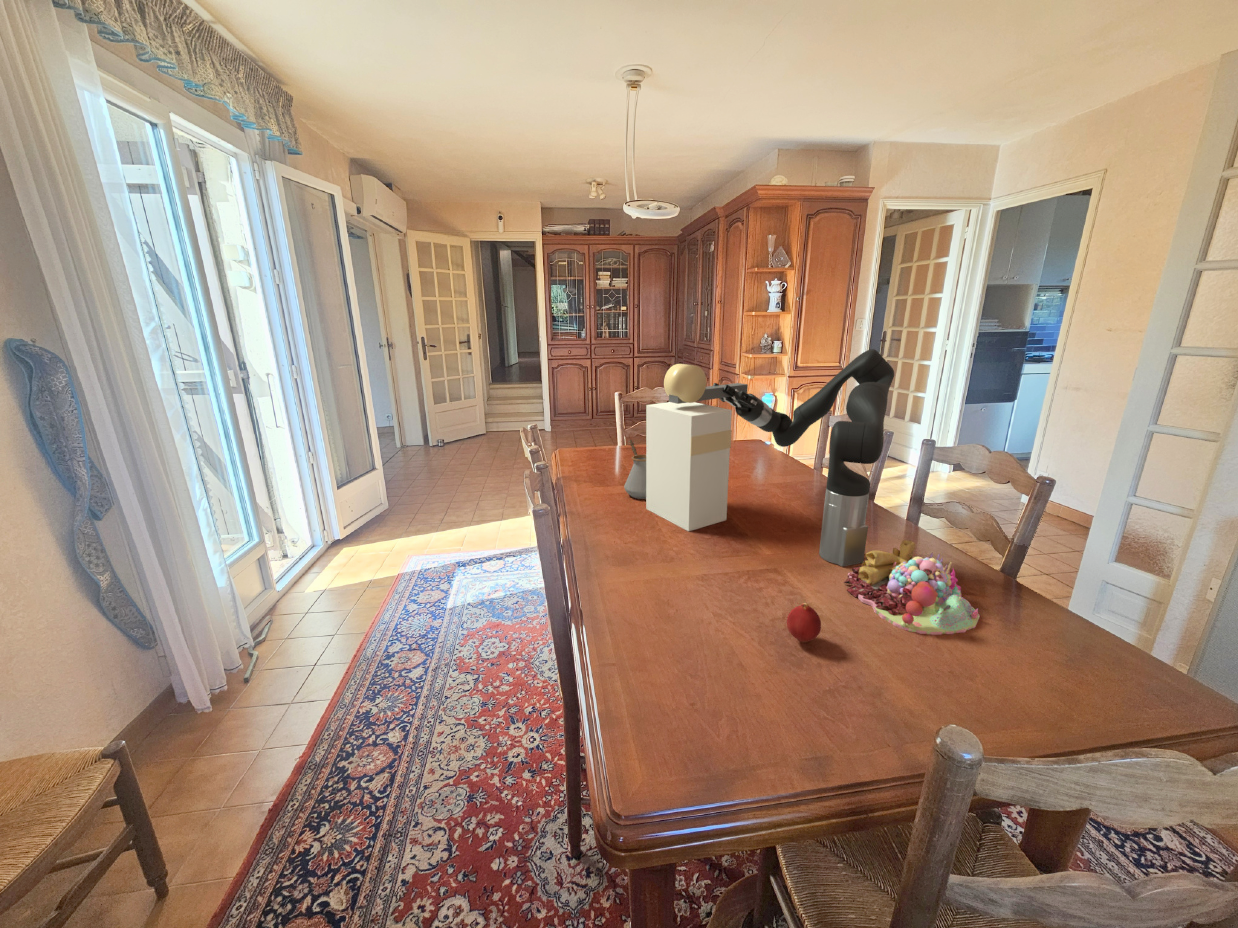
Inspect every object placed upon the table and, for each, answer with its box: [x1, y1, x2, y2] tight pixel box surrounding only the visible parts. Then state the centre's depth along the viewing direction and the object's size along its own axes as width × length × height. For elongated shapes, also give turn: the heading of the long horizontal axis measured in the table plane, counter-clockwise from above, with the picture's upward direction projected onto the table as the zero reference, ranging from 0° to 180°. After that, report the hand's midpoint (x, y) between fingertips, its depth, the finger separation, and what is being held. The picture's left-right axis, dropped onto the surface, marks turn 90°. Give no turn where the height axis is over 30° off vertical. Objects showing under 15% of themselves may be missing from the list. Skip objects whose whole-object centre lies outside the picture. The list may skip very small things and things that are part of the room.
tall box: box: [645, 401, 733, 532], centre depth 146 cm, size 14×20×32 cm
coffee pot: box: [623, 439, 646, 500], centre depth 169 cm, size 21×12×15 cm, turn 12°
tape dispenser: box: [663, 363, 749, 404], centre depth 143 cm, size 27×6×10 cm, turn 122°
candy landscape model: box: [843, 539, 981, 636], centre depth 104 cm, size 25×24×9 cm
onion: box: [786, 602, 822, 644], centre depth 91 cm, size 6×6×8 cm
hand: (719, 386), depth 146 cm, fingers closed on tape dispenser, 4 cm apart
